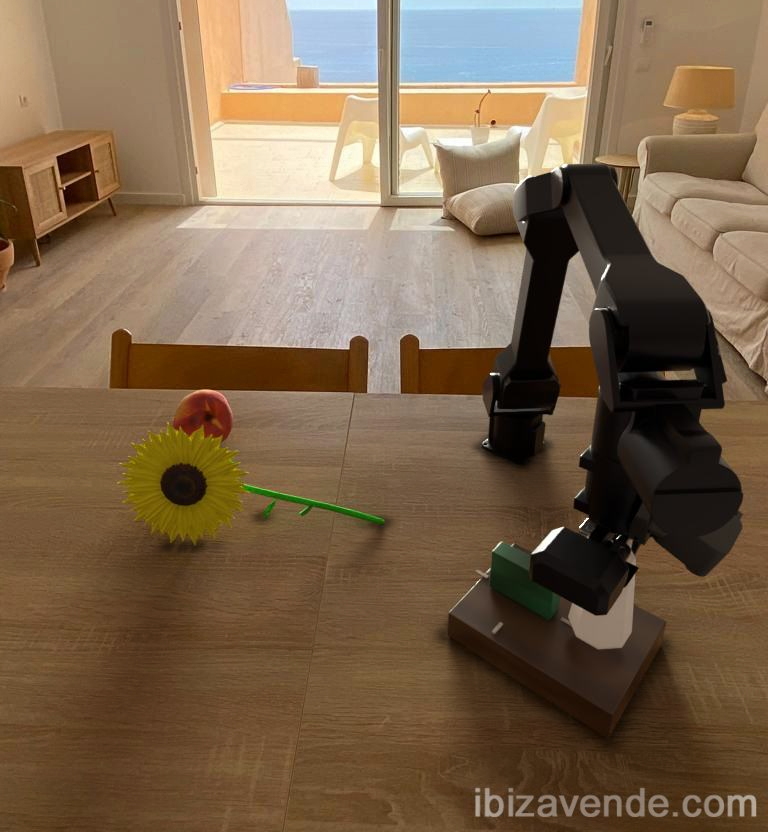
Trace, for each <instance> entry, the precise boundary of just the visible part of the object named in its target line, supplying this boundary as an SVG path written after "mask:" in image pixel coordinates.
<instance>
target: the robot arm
mask: <svg viewBox="0 0 768 832" xmlns="http://www.w3.org/2000/svg"><path fill="white" fill-rule="evenodd" d="M618 185H619V181H618V173H617V170H616V167H614V165H607V163H603V162H601V163H598V162H597V163H564V164H563V165H561V166H557V167H555V168H554V169H553V170H551V171H549V172H545V173H542V174H539V175H528V176H527V177H526V178H524V179H521V181H520V183H519V184H518V185H517V186H516V187H515V188H514V192H513V195H512V196H513V197H512V213H513V218H514V221H515V223H516V226H517V228H518V231H519V234H520V237H521V240H522V242H523V245H524V247H525V255H524V262H523V267H522V273H521V280H520V286H519V291H518V298H517V303H516V310H515V317H514V323H513V328H512V335H511V340H510V343H509V344H508V345H507V346H506V347H505V348H503V349H502V350H501V351H500V352H499V353H498V354H497V355H496V356H495V358H494V362H493V367H492V372H490V373H488V375H487V377H486V378H485V379H484V381H483V383H482V401H483V404H484V407H485V410H486V413H487V416H488V418H489V421H488V437H487V438H486V439H485V440H484V441H483V442H482V443H481V448H482V449H484V450H486V451H488V452H490V453H492V454H495V455H497V456H499V457H502V458H504V459H506V460H508V461H511V462H513V463H515V464H518V465H520V466H523V465H525V464H526V463H527V462H528V461H530V460H531V459H532V458H534V457H535V456H536V455H537V454H538V453H539V452H540V451H541V450H542V449H543V448H544V447H545V446H546V445H547V444H546V442H547V441H546V439H545V432H546V422H545V421H543V420H544V419H543V418H544V415H546V416H547V415H548V416H553V415H554V412H555V409H556V406H557V403H558V400H559V396H560V394H561V393H560V392H561V388H562V383H561V382H560V381H559V376H558V374H557V372H556V369H555V366H554V364H553V361H552V358H551V354H550V350H551V347H552V343H553V338H554V333H555V329H556V324H557V319H558V315H559V310H560V305H561V300H562V295H563V291H564V286H565V281H566V277H567V273H568V272H567V271H568V267H569V263H570V261H571V259H573V257H575V256H576V255H577V254H578V253H579V254H580V257H581V259H582V262H583V264H584V267H585V269H586V272H587V274H588V277H589V279H590V282H591V284H592V286H593V289H594V294H595V300H594V302H593V306H592V308H591V313H590V316H589V319H588V339H589V346H590V349H591V354H592V358H593V364H594V368H595V371H596V377H597V381H598V384H599V386H598V391H597V392H598V393H597V399H596V400H597V401H596V406H595V413H594V419H593V428H592V432H591V433H592V435H591V441H590V445H589V446H588V447H587V448H586V449H585V450H584V451H583V453H581V455H579V463H578V468H581V469H583V470H585V471H586V477H585V482H584V483H585V484H584V487H583V488H582V489H581V490H580V491H579V493H578V494H577V495H576V496H575V497H574V499H573V506H572V509H574V510H576V511H578V512H581V513H583V514H585V515H587V518H586V519H585V520H584V522H583V523H582V524H581V525H580V526H579V529H578V532H576V531H574V530H573V529H570V528H568V527H566V526H562V527H559V528H555V529H552V530H551V531H550V532H549V533H548V534H547V536H546V537H545V538H543V540H542V541H541V542H540V543H539V544H538V546H537V547H536V548H535V549H534V550H533V551H532V552H533V553H532V554H531V558H530V567H529V575H530V577H531V580H532V581H533V582H535V583H537V584H538V585H540V586H542V587H544V588H546V589H548V590H549V591H551V592H553V593H555V594H557V595H559V596H560V597H562V598H564V599H566V600H568V601H570V602H571V603H573V604H575V605H577V606H579V607H580V608H582V609H584V610H586V611H588V612H590V613H591V614H593V615H595V616H600V615H607V614H608V612H609V611H610V609H611V608H612V606H613V605H614V603H615V602H616V600H617V599H618V597H619V596H620V594H621V593H622V590H623V588H625V587H626V586H627V585H628V583H629V582H630V581H631V579H632V578H633V576H634V575H635V576H636V574H637V572H638V571H639V569H640V567H639V566H637V565H636V566H635V565H633V564H631V563H629V562H627V559H628V558H629V556H630V554H631V550H632V552H633V554H634V556H635V557H636V555H637V553H638V551H639V549H640V547H641V546H642V545H643V546H645V545H646V544H647V542H648V541H649V539H650V538H652V539H653V540H654V541H655V543H657V544H658V545H659V546H660V547H661V548H663V549H664V550H665V551H666V552H668V553H669V554H670V555H672V556H673V557H674V558H675V559H677V560H678V561H679V562H680V563H682V564H683V565H684V566H685V567H684V568H685V569H686V570H687V571H689V572H690V573H691V574H693V575H695V576H697V577H700V578H704V577H707V576H708V575H709V574H710V572H712V571H713V569H715V568H716V567H717V566H718V565H719V564H720V562H722V561H723V559H724V558H726V557H727V556H728V555H729V553H731V551H732V549H733V547H734V545H735V544H736V541H737V540H738V538H739V536H740V534H741V533H742V531H743V522H742V520H741V519H742V517H743V516H744V513H743V512H741V511H740V509H741V506H742V504H743V499H744V492H743V488H742V483H741V480H740V478H739V477H738V475H737V474H736V472H735V471H734V470H733V469H732V468H731V466H730V465H729V464H728V463H727V461H726V460H725V459H724V458H723V456H722V453H723V447H722V445H721V444H720V442H719V441H718V440H717V439H716V437H715V436H714V435H712V433H710V432H708V430H706V429H705V428H704V426H703V425H702V424H701V423H700V419H701V415H702V410H723V409H724V408H725V404H726V402H725V395H724V387H723V385H724V384H725V383H727V382H728V379H727V374H726V370H725V366H724V362H723V357H722V354H721V349H720V346H719V340H718V337H717V332H716V329H715V328H716V327H715V322H714V317H713V315H712V313H711V311H710V310H709V309H708V307H707V305H706V303H705V301H704V300H703V298H702V297H701V296H700V294H699V293H698V292H697V291H696V289H695V288H694V287H693V285H692V284H691V283H690V282H689V281H688V279H687V278H686V277H685V275H683V274H681V273H679V272H677V271H675V270H673V269H671V268H670V267H667V266H666V265H664V264H662V263H660V262H658V261H657V259H656V258H655V256H654V255H653V253H652V252H651V250H650V248H649V246H648V244H647V242H646V240H645V238H644V235H643V234H642V232H641V229H640V228H639V227H638V224H637V222H636V220H635V219H634V217H633V215H632V213H631V210H630V209H629V207H628V204H627V203H626V201H625V199H624V197H623V195H622V193H621V191H620V189H619V186H618ZM692 370H693V372H694V376H695V378H692V379H691V378H690V379H689V378H688V379H687V378H686V379H668V378H666V376H665V375H664V374H663V372H691V371H692ZM616 534H617V535H616ZM630 539H631V540H633V541H632V547H631V548H630V546H629V545H628V544H627V543H628V542H629V540H630ZM612 541H613V542H612Z"/></svg>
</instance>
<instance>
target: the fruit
mask: <svg viewBox="0 0 768 832" xmlns="http://www.w3.org/2000/svg"><path fill="white" fill-rule="evenodd" d="M202 425H203V427H204V439H205V438H207V437H209V436H211V435H212V434H213V437H212V439H214V438H218V437H220V436H222V435H223V437H222V440H221V443H220V444H222V443H223V442H224V441H225V440H226V439H227V438H228V437H229V435H230V433H231V431H232V429H233V425H234V416H233V412H232V409H231V407H230V405H229V402H228V400H227V399H226V397H225V396H224V395H223V394H222V393H220V392H219V391H216V390H213V389H199V390H196V391H194V392H192V393H189V394H188V395H186V396H185V397H184V398H182V400H181V401H180V402H179V404H178V406H177V408H176V410H175V413H174V418H173V422H172V428H174V429H175V430H177V431H179V428H180V426H181V428H182V430H183V431H184V432H185V434H187V435H188V437H190V436H191V434H192V433H193V432H195V431H197V430H198V429H200V428H201V427H202Z"/></svg>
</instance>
